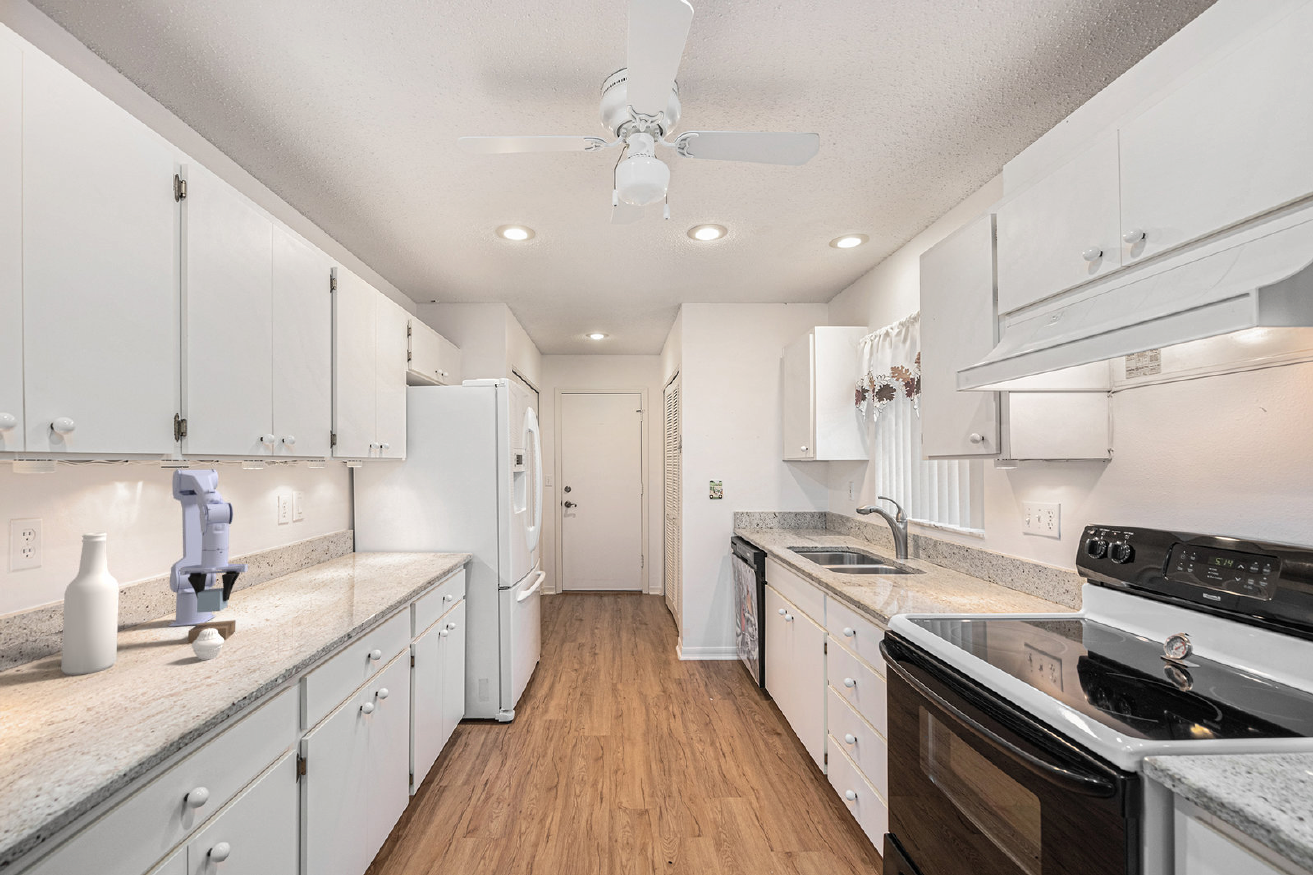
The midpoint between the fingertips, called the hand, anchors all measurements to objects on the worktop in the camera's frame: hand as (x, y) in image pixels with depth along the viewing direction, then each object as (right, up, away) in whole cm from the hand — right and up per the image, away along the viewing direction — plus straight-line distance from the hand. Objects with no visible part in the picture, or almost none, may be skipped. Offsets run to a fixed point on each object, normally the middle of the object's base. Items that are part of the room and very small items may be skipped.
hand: (213, 601), depth 155 cm
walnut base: (0, -10, 0) cm, 10 cm away
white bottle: (-9, -9, -24) cm, 27 cm away
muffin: (+11, -9, -17) cm, 22 cm away
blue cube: (0, -2, -1) cm, 2 cm away
